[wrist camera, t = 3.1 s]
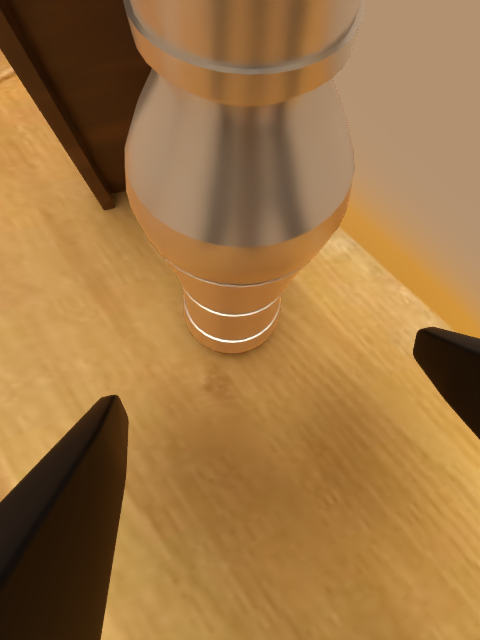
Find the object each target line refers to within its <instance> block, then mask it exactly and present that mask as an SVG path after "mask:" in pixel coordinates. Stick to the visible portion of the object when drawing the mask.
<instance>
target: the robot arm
mask: <svg viewBox="0 0 480 640" xmlns="http://www.w3.org/2000/svg"><path fill="white" fill-rule="evenodd" d="M413 355H414V358H415V360H416V361H417V363H418V364H419V365H420V367H421V368H422V369H423V371H424V372H425V374H426V375H427V376H428V378H429V379H430V380H431V382H432V383H433V384H434V386H435V387H436V389H437V390H438V391H439V393H440V394H441V395H442V397H443V398H444V399H445V400H446V402H447V403H448V404H449V405H450V406H451V408H452V409H453V410H454V411H455V412H456V413H457V414H458V415H459V417H460V418H461V419H462V420H463V421H464V422H465V423H466V425H467V426H468V427H469V428H470V429H471V430H472V431H473V432H474V434H475V435H476V436H477V437H478V438H479V439H480V339H479V338H475V337H471V336H467V335H463V334H460V333H456V332H452V331H448V330H444V329H440V328H436V327H428V328H423V329H420V330H419V331H418V332H417V334H416V339H415V344H414V348H413ZM128 424H129V422H128V416H127V413H126V411H125V409H124V407H123V404H122V402H121V400H120V398H119V397H118V395H110V396H106V397H102V398H100V399H99V400H98V401H97V402H96V403H95V404H94V405H93V407H92V408H91V409H90V410H89V411H88V412H87V413H86V414H85V415H84V416H83V417H82V418H81V419H80V420H79V421H78V422H77V423H76V424H75V425H74V426H73V427H72V428H71V429H70V430H69V431H68V432H67V434H66V435H65V436H64V437H63V438H62V439H61V440H60V441H59V442H58V443H57V444H56V445H55V446H54V447H53V448H52V449H51V450H50V451H49V452H48V453H47V454H46V455H45V456H44V457H43V458H42V460H41V461H40V462H39V463H38V464H37V465H36V466H35V467H34V468H33V469H32V470H31V471H30V472H29V473H28V474H27V475H26V476H25V477H24V478H23V479H22V480H21V481H20V482H19V483H18V484H17V485H16V487H15V488H14V489H13V490H12V491H11V492H10V493H9V494H8V495H7V496H6V497H5V498H4V499H3V500H2V501H1V502H0V640H100V639H101V633H102V627H103V620H104V614H105V608H106V602H107V595H108V589H109V583H110V576H111V570H112V564H113V557H114V551H115V545H116V538H117V532H118V526H119V519H120V513H121V507H122V500H123V494H124V488H125V480H126V469H127V447H128Z"/></svg>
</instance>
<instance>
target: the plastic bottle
mask: <svg viewBox="0 0 480 640" xmlns="http://www.w3.org/2000/svg"><path fill="white" fill-rule="evenodd" d="M123 3H124V6H125V10H126V13H127V17H128V21H129V24H130V28H131V32H132V35H133V38H134V41H135V44H136V47H137V49H138V51H139V52H140V54H141V55H142V57H143V58H144V60H145V61H146V63H147V64H148V65H149V66H151V67H152V69H151V72H150V74H149V76H148V78H147V81H146V83H145V85H144V87H143V89H142V92H141V94H140V96H139V98H138V101H137V105H136V108H135V111H134V115H133V118H132V122H131V125H130V129H129V132H128V136H127V140H126V144H125V178H126V192H127V196H128V200H129V203H130V207H131V210H132V212H133V213H134V215H135V217H136V219H137V221H138V223H139V224H140V226H141V228H142V229H143V231H144V232H145V234H146V236H147V237H148V239H149V241H150V242H151V244H152V245H153V246H154V247H155V248H156V250H157V251H158V252H159V253H160V255H161V256H162V257H163V258H164V260H165V261H166V262H167V263H168V265H169V266H170V267H171V269H172V270H173V271H174V272H175V274H176V275H177V277H178V279H179V281H180V283H181V285H182V287H183V292H184V298H183V310H184V318H185V322H186V325H187V327H188V329H189V331H190V332H191V334H192V335H193V336H194V337H195V338H196V340H198V341H199V342H200V343H201V344H203V345H204V346H206V347H208V348H210V349H212V350H215V351H218V352H222V353H230V354H234V353H242V352H245V351H249V350H252V349H254V348H256V347H258V346H259V345H261V344H262V343H263V342H265V341H266V340H267V339H268V338H269V337H270V335H271V334H272V333H273V331H274V329H275V328H276V326H277V323H278V319H279V316H280V309H281V296H282V293H283V292H284V290H285V289H286V287H287V286H288V284H289V283H290V281H291V280H292V279H293V278H294V277H295V276H296V275H297V274H298V273H299V272H300V271H301V270H302V269H303V268H304V267H305V266H306V265H307V264H308V263H309V262H310V260H311V259H312V258H314V257H315V256H316V254H317V253H318V252H319V251H320V250H321V249H322V247H323V246H324V245H325V244H326V243H327V241H328V240H329V239H330V237H331V236H332V235H333V233H334V232H335V231H336V230H337V228H338V227H339V225H340V223H341V221H342V219H343V217H344V215H345V213H346V210H347V205H348V201H349V197H350V192H351V186H352V180H353V174H354V168H355V167H354V150H353V145H352V141H351V136H350V132H349V127H348V123H347V119H346V116H345V112H344V108H343V105H342V102H341V99H340V97H339V94H338V91H337V89H336V86H335V83H334V80H333V77H334V76H335V75H336V74H337V73H338V72H339V71H340V70H341V69H342V68H343V66H344V65H345V63H346V61H347V60H348V58H349V57H350V55H351V52H352V49H353V46H354V43H355V39H356V37H357V33H358V31H359V27H360V24H361V20H362V17H363V13H364V0H123Z"/></svg>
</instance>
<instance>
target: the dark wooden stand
mask: <svg viewBox="0 0 480 640" xmlns="http://www.w3.org/2000/svg"><path fill="white" fill-rule="evenodd" d="M0 49H1V51H2V52H3V54H4V55H5V57H6V59H7V60H8V62H9V63H10V65H11V66H12V68H13V69H14V71H15V73H16V74H17V76H18V77H19V79H20V80H21V82H22V83H23V85H24V87H25V88H26V90H27V91H28V93H29V94H30V96H31V97H32V99H33V101H34V102H35V104H36V105H37V107H38V108H39V110H40V111H41V113H42V115H43V116H44V118H45V119H46V121H47V122H48V124H49V125H50V127H51V129H52V130H53V132H54V133H55V135H56V136H57V138H58V139H59V141H60V143H61V144H62V146H63V147H64V149H65V150H66V152H67V153H68V155H69V157H70V158H71V160H72V161H73V163H74V164H75V166H76V167H77V169H78V170H79V172H80V174H81V175H82V177H83V178H84V180H85V181H86V183H87V184H88V186H89V188H90V189H91V191H92V192H93V194H94V195H95V197H96V198H97V200H98V202H99V203H100V205H101V206H102V208H103V209H104V210H106V209H110V208H115V204H114V200H113V195H112V193H116V192H120V191H125V190H126V178H125V144H126V140H127V136H128V132H129V129H130V125H131V122H132V118H133V115H134V111H135V108H136V105H137V101H138V98H139V96H140V94H141V92H142V89H143V87H144V85H145V83H146V81H147V78H148V76H149V74H150V72H151V69H152V67H151V66H149V65H148V64H147V63H146V61H145V60H144V58H143V57H142V55H141V54H140V52H139V51H138V49H137V47H136V44H135V41H134V38H133V35H132V32H131V28H130V24H129V21H128V17H127V13H126V10H125V6H124V3H123V0H0Z"/></svg>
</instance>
